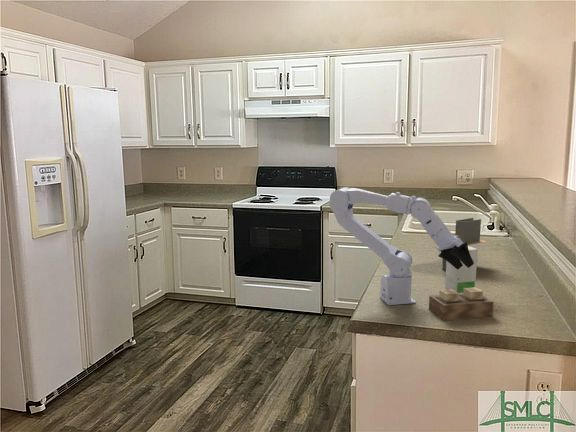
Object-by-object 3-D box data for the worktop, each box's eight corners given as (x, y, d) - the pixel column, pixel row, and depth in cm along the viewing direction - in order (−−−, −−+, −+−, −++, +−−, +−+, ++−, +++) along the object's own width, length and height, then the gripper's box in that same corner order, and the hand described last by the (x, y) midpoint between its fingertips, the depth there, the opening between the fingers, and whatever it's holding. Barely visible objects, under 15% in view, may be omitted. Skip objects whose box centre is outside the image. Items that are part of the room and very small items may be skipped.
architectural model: (454, 285, 174) (457, 231, 170) (403, 268, 195) (405, 221, 191) (517, 268, 194) (521, 220, 190) (465, 255, 215) (467, 211, 211)
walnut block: (443, 320, 141) (444, 305, 140) (428, 309, 149) (429, 294, 148) (492, 315, 144) (493, 300, 143) (475, 305, 152) (476, 291, 151)
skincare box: (455, 295, 162) (457, 250, 159) (443, 289, 168) (445, 246, 165) (476, 293, 164) (478, 248, 161) (463, 287, 170) (466, 244, 167)
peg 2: (470, 305, 144) (470, 292, 144) (462, 301, 148) (463, 288, 147) (482, 304, 145) (482, 291, 144) (474, 300, 149) (475, 287, 148)
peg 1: (445, 307, 143) (446, 294, 142) (439, 303, 147) (439, 289, 146) (457, 306, 144) (458, 293, 143) (451, 302, 147) (451, 289, 147)
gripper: (457, 220, 143) (486, 256, 141) (438, 227, 157) (464, 261, 156) (440, 233, 142) (468, 270, 140) (422, 240, 156) (448, 273, 154)
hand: (465, 266), depth 148 cm, fingers open, 7 cm apart
